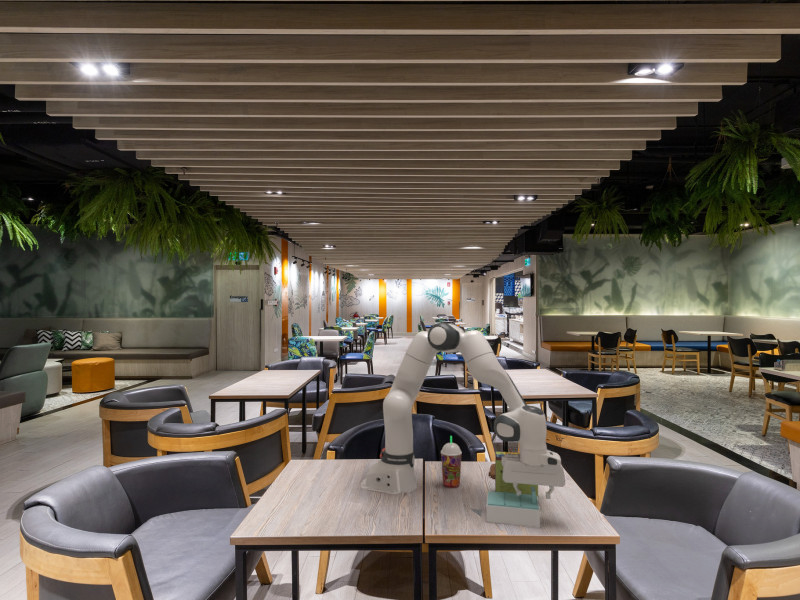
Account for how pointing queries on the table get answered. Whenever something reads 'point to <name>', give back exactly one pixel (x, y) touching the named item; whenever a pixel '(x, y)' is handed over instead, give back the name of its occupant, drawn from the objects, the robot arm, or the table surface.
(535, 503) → the lid
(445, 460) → the smoothie
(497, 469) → the protein box
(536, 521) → the tub
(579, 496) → the table surface
